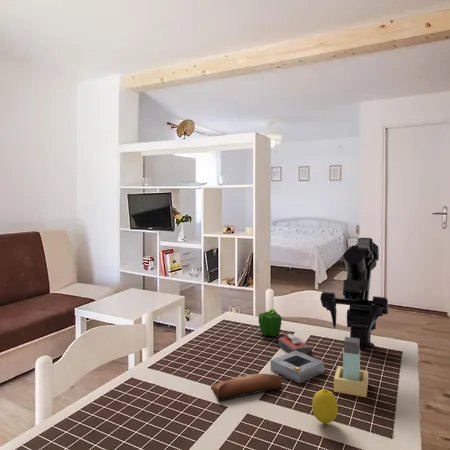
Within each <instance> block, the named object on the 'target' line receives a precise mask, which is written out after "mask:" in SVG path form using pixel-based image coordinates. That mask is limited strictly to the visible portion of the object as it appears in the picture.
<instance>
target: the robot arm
mask: <svg viewBox="0 0 450 450" xmlns="http://www.w3.org/2000/svg"><path fill="white" fill-rule="evenodd" d="M379 253H380V251H379V246H378V245H377V244H376V243H375V242H374V240H373V238H371V237H358V238H357V241H356V244H354V245H351V246H349V247H348V248H347V249H346V250H345V252H344V253H343V259H344V265H345V269H346V271H347V272H346V279H343V284H342V285H343V286H342V296H344V297H340V296H338V297H337V296H336V293H335V292H332V291H331V292H330V291H322V293H321V294H320V298H319V300H320V302H321V306H322V307H323V308H325V310H327V311H329V312H330V315H331V321H332V325H333V328H334V329H335V328H336V326H337V312H338V311H337V310H338V309H337V305H345V306H349V307H348V308H349V309H346V327H347V328H350V331H349V333H350V335H349V337H352V338H360V342H359V349H360V350H361V349H362V350H363V349H366V348H370V347H373V346H375V343H373V342H371V336H372V334H371V331H374V330H376V328H377V322H376V321H377V319H379V318H380V317H383V316H384V315H388V314H389V303H388V302H389V300H388V298H387V297H384V296H372V300H369V297H370V287H371V286H370V285H371V277H372V275H371V274H372V271H373V270H374V269H375V268H376V266H377V261H379V259H380V254H379Z"/></svg>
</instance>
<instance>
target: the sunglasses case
mask: <svg viewBox="0 0 450 450" xmlns="http://www.w3.org/2000/svg"><path fill="white" fill-rule="evenodd" d="M282 388H283V382H282V379H281V378H280V376H278V375H277V374H271V373H253V374H246V375H239V376H236V377H232V378H229V379H227V380H225V381H220V382H217V383H215V384H213V385H211V386H210V390H212V393H213V395H214V396H215V397H216V399H217V402H219V401H221V402H222V401H225V400H229V399H232V398H236V397H240V396H242V395H249V394H254V393H258V392H265V391H270V390H276V389H282Z"/></svg>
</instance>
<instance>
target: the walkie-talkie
mask: <svg viewBox="0 0 450 450" xmlns="http://www.w3.org/2000/svg"><path fill="white" fill-rule="evenodd" d="M277 342H278V343H277V345H278V347H280V348H281V349H282V351H284V352H285V353H286V354H288V353H290V352H293V351H298V352H300V353H303V354H306V355H308V356H311V355H314V352H313V351H312V350H311V347H310V346H309V345H308V344H306V342H307V341H306V340H304V338H302V337H300V336H299V337H296V336H295V335H294V334H292V333H291V332H289V331H287V332H286V334H285V335H284V336H282V337H279V338H278V341H277Z"/></svg>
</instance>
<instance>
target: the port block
mask: <svg viewBox="0 0 450 450" xmlns="http://www.w3.org/2000/svg"><path fill="white" fill-rule="evenodd" d="M270 371H272V372H275V373H277V374H279V375H281V376H283V377H285V378H287V379H289V380H292V382H293V381H294V382H295V383H298V384H301V383H303V382H305V381H307V380H310V379H313V378H314V377H317V376H318V375H320V374H321V375H322V374H323V373H325V361H323V360H321V359H318V358H315V357H313V356H311V355H306V354H303V353H300V352H298V351H293V352H290V353H284V354H283V355H279V356H277V357H274V358H272V359H270Z"/></svg>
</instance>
